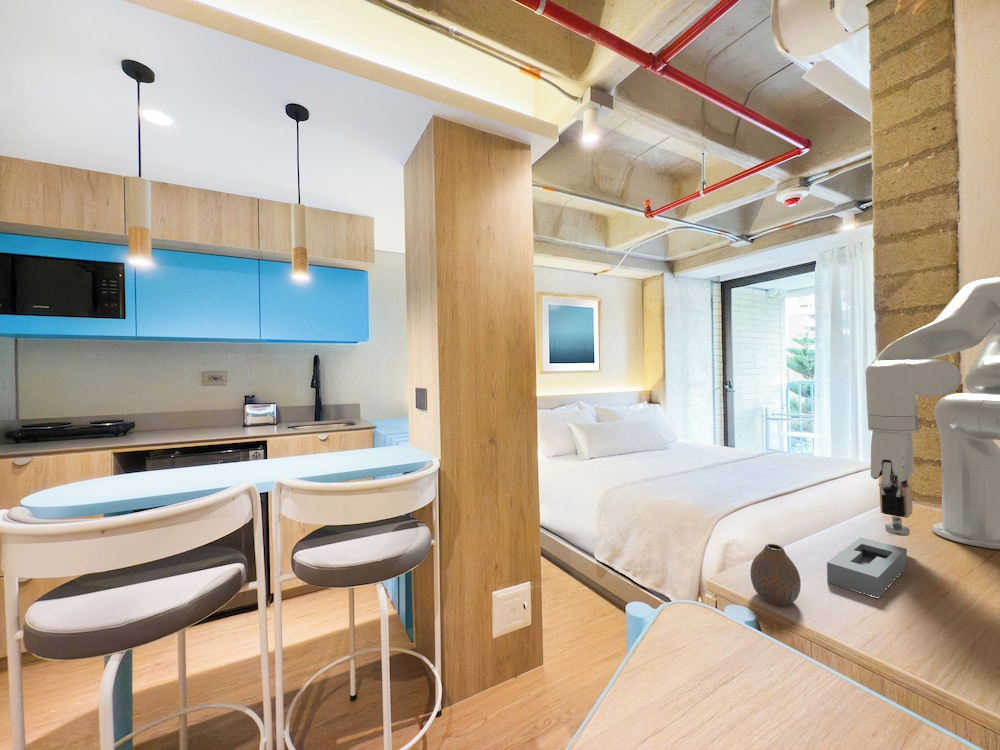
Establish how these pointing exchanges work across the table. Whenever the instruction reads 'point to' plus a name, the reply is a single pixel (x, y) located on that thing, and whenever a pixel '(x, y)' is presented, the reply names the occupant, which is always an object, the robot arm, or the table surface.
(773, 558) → the vase
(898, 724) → the table surface
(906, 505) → the key
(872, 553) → the keyhole plate
